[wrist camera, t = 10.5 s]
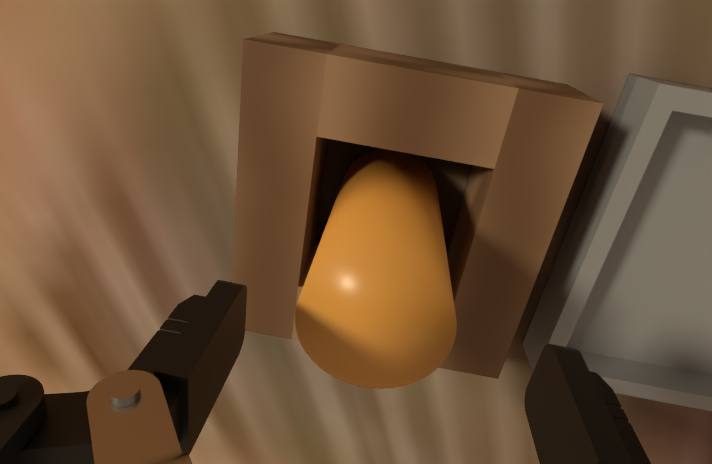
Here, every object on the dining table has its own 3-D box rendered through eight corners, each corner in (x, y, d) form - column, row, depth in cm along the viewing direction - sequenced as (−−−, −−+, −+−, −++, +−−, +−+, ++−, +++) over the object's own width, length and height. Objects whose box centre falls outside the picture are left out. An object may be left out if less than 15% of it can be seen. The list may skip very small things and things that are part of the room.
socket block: (567, 84, 19) (603, 103, 16) (484, 323, 24) (498, 378, 21) (273, 32, 19) (243, 39, 16) (255, 280, 25) (229, 327, 21)
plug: (447, 157, 21) (475, 273, 12) (425, 245, 23) (435, 400, 14) (348, 139, 21) (304, 241, 12) (335, 228, 23) (287, 372, 14)
